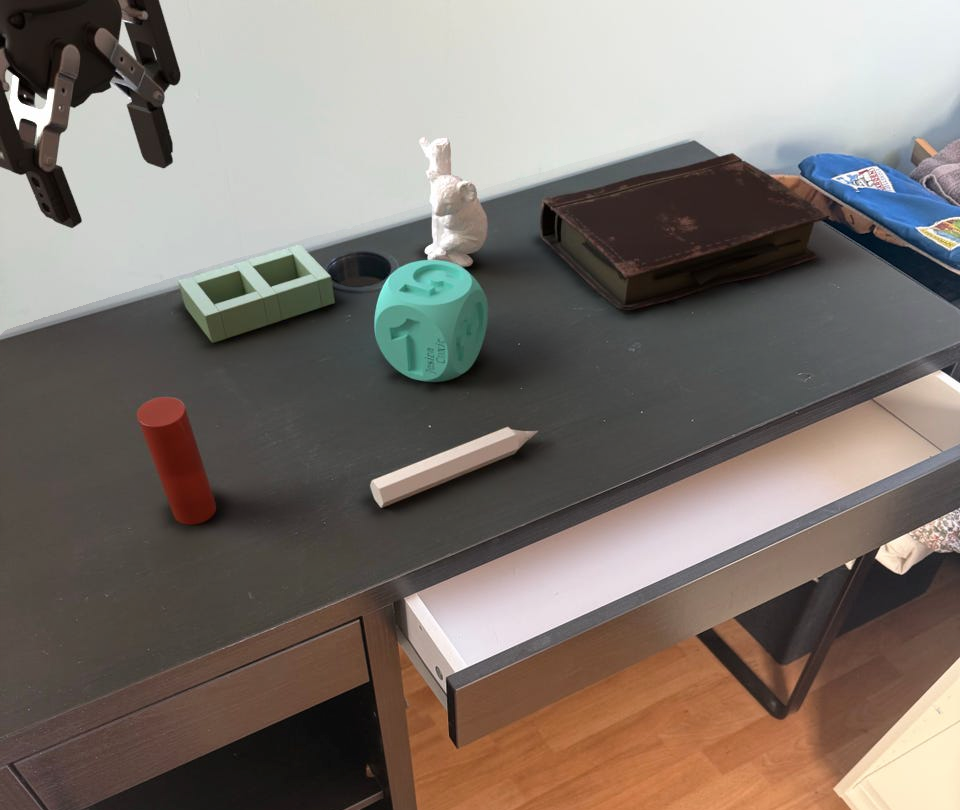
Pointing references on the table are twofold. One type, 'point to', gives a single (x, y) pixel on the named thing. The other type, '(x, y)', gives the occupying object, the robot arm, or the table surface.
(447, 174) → the koala figurine
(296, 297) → the two-slot green holder
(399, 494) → the unpainted wooden pencil
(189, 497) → the peg
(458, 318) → the decorative dice
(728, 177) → the diary
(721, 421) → the table surface
